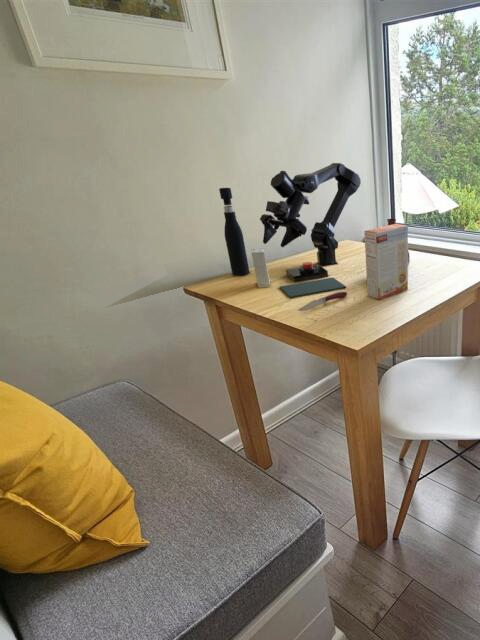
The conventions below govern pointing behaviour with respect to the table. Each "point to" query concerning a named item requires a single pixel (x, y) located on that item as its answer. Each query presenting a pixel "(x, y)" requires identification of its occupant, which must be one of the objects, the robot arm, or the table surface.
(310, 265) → the button
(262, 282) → the cosmetic box
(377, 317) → the table surface
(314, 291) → the mat
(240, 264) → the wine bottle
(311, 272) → the control block
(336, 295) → the knife
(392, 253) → the cracker box
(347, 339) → the table surface
